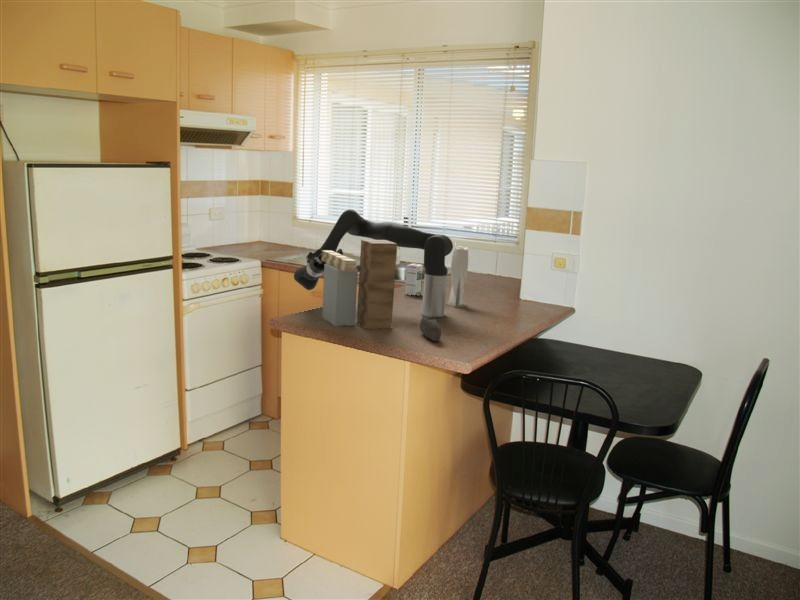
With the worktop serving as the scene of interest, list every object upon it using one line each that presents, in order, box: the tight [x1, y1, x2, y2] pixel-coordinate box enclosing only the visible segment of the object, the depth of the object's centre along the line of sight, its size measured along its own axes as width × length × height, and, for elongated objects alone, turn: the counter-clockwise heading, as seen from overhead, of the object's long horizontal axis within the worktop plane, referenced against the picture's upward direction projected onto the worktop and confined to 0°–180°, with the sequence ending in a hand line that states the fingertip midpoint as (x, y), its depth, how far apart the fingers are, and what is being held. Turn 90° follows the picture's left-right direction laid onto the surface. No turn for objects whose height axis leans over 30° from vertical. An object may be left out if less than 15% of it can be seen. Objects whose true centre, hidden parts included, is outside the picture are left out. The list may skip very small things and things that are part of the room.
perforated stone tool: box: [419, 315, 442, 342], centre depth 241 cm, size 15×5×7 cm, turn 14°
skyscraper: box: [445, 241, 469, 309], centre depth 299 cm, size 8×8×28 cm
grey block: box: [321, 264, 359, 327], centre depth 255 cm, size 14×8×21 cm, turn 26°
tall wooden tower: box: [356, 239, 398, 330], centre depth 251 cm, size 10×10×32 cm
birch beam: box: [321, 250, 357, 272], centre depth 255 cm, size 26×4×4 cm, turn 26°
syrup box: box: [404, 263, 424, 297], centre depth 317 cm, size 6×6×14 cm
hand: (330, 250), depth 262 cm, fingers open, 8 cm apart
